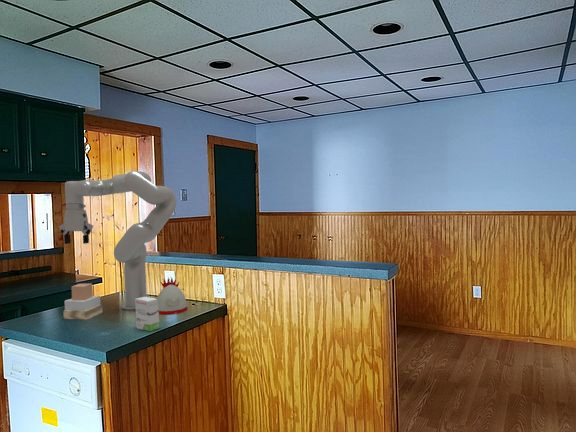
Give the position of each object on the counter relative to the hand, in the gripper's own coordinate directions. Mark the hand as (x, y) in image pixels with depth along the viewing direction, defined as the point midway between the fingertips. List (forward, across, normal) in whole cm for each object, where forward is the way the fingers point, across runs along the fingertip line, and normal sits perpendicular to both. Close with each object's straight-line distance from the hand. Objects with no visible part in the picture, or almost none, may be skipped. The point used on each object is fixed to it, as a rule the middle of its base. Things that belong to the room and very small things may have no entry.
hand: (76, 243), depth 199 cm
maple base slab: (+31, -12, +14) cm, 36 cm away
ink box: (+31, -50, +28) cm, 65 cm away
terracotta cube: (+23, -12, +14) cm, 29 cm away
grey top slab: (+27, -12, +14) cm, 32 cm away
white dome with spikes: (+31, -48, +3) cm, 57 cm away
